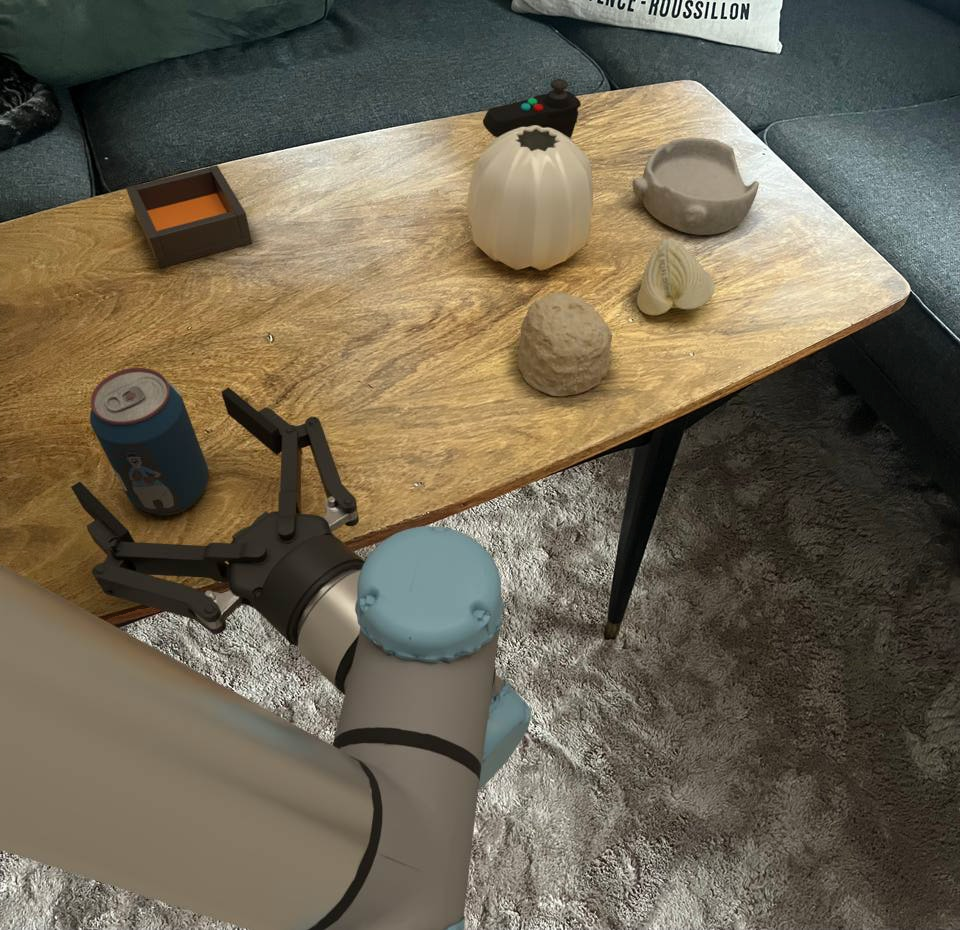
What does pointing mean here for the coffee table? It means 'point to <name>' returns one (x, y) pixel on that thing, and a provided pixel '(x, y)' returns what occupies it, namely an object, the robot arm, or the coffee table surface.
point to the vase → (531, 198)
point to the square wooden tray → (189, 216)
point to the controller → (537, 112)
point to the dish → (695, 186)
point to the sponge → (563, 345)
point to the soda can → (149, 440)
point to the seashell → (673, 280)
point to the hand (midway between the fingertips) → (158, 445)
